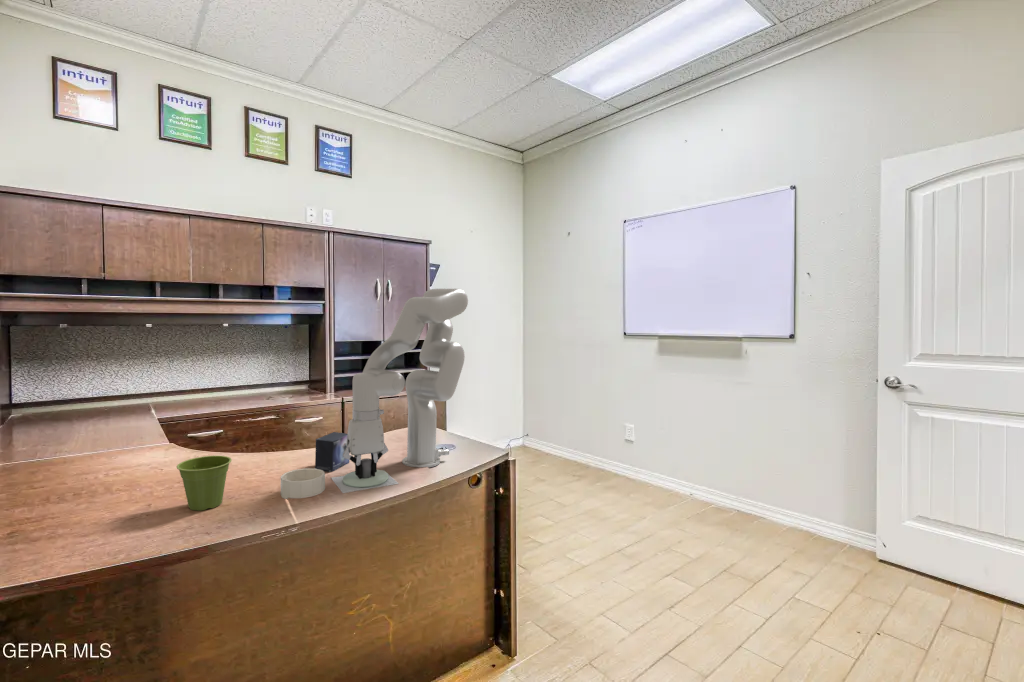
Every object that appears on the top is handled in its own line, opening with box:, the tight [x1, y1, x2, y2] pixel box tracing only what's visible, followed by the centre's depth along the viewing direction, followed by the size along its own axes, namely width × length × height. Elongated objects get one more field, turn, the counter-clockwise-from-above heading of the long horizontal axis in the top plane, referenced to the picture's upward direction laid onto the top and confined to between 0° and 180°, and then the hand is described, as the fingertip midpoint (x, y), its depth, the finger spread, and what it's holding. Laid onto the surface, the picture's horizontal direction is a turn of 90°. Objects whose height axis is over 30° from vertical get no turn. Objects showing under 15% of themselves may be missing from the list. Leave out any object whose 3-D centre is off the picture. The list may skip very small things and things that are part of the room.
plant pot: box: [176, 455, 233, 512], centre depth 124 cm, size 12×12×11 cm
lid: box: [343, 457, 389, 487], centre depth 145 cm, size 13×13×6 cm
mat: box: [330, 469, 399, 494], centre depth 144 cm, size 16×14×1 cm
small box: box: [314, 431, 350, 473], centre depth 157 cm, size 11×6×10 cm, turn 168°
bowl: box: [280, 467, 326, 500], centre depth 135 cm, size 11×11×5 cm
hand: (365, 475), depth 145 cm, fingers closed on lid, 3 cm apart
